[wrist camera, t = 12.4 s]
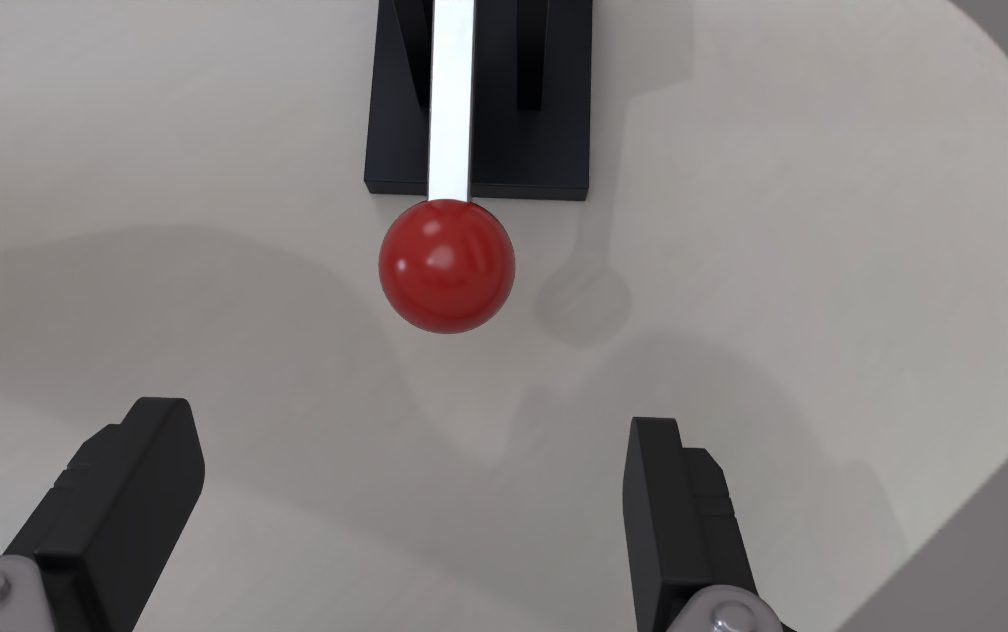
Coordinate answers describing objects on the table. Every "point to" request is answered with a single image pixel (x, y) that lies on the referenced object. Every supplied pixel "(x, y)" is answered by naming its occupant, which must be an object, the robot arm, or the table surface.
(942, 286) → the table surface
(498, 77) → the switch bracket
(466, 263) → the lever
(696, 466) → the robot arm
